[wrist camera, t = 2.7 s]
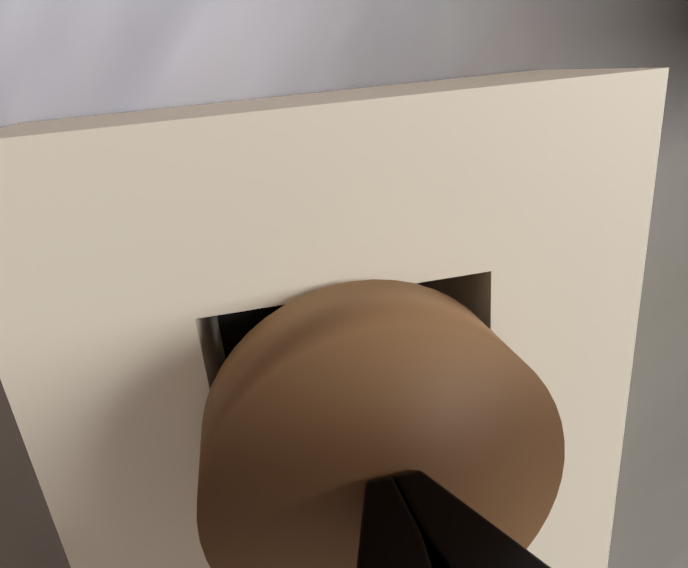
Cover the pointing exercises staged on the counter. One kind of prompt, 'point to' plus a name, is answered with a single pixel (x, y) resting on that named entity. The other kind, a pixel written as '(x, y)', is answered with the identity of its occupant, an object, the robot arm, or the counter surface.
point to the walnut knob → (367, 424)
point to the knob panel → (315, 271)
